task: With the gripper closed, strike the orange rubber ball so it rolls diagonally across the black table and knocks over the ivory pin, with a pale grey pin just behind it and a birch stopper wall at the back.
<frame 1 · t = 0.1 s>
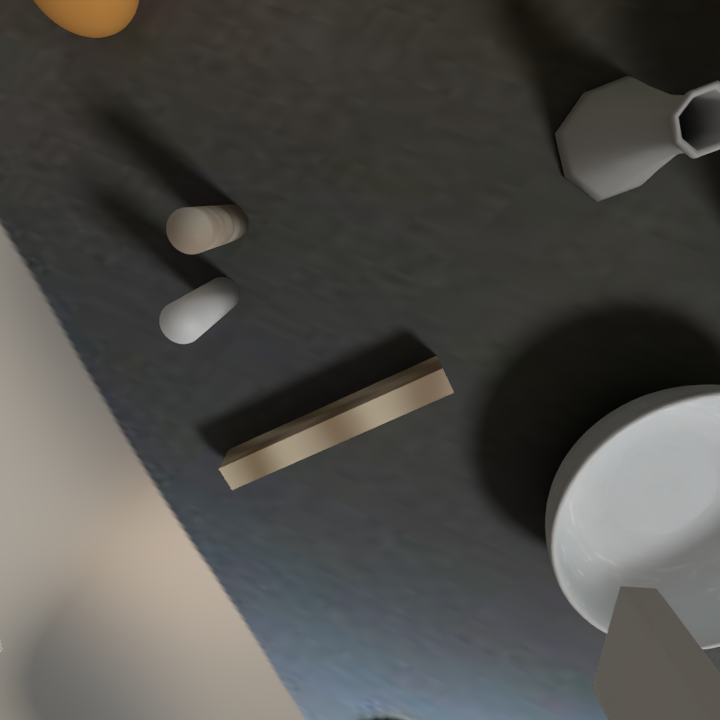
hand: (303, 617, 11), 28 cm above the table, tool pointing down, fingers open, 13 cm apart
flask: (608, 141, 34), on the table
back wall: (335, 414, 40), on the table
pin 1: (231, 222, 35), on the table
serving bowl: (650, 480, 42), on the table
pin 2: (223, 293, 37), on the table
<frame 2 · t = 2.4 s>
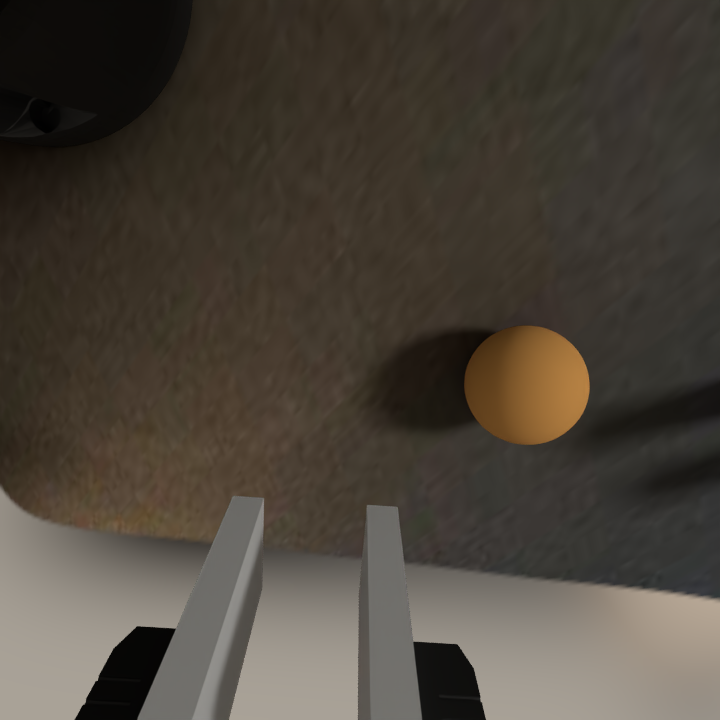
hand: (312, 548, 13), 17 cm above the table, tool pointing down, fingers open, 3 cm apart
ball: (524, 384, 26), on the table
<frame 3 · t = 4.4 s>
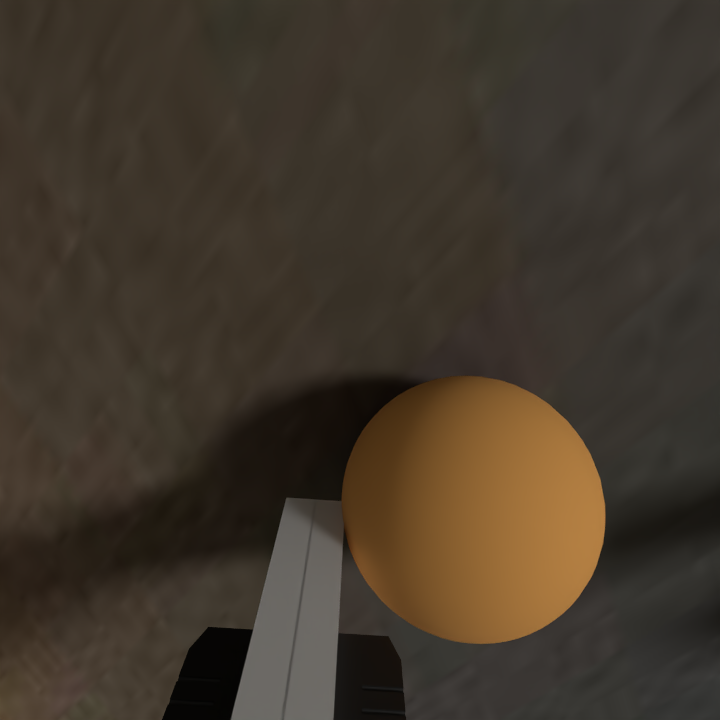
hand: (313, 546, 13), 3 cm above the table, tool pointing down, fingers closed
ball: (466, 500, 12), on the table, touching gripper
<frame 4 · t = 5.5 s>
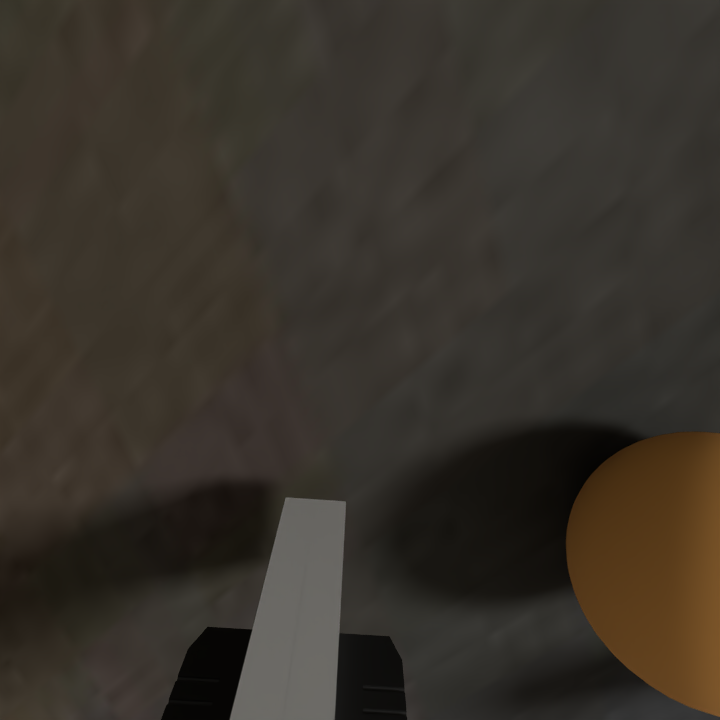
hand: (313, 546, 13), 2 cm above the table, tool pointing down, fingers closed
ball: (706, 563, 12), on the table
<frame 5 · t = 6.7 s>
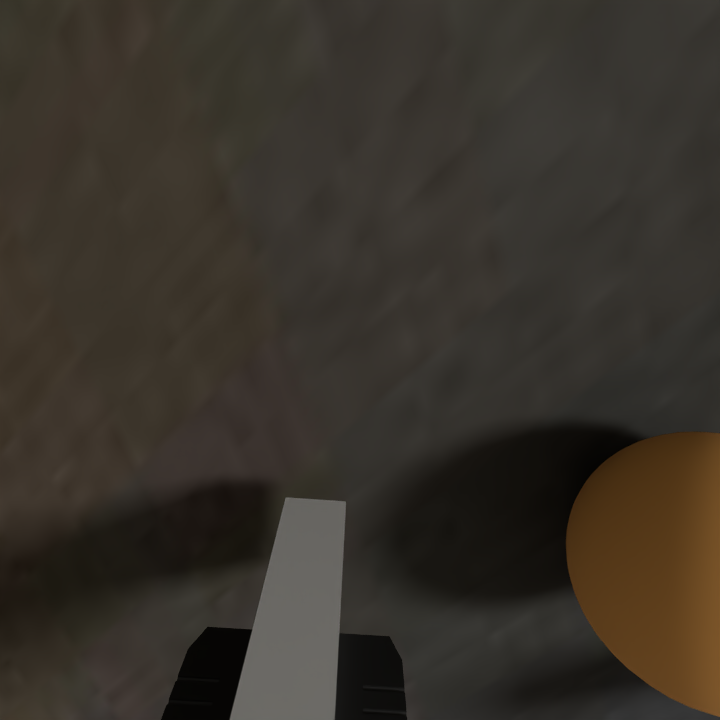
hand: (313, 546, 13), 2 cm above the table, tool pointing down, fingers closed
ball: (706, 563, 12), on the table
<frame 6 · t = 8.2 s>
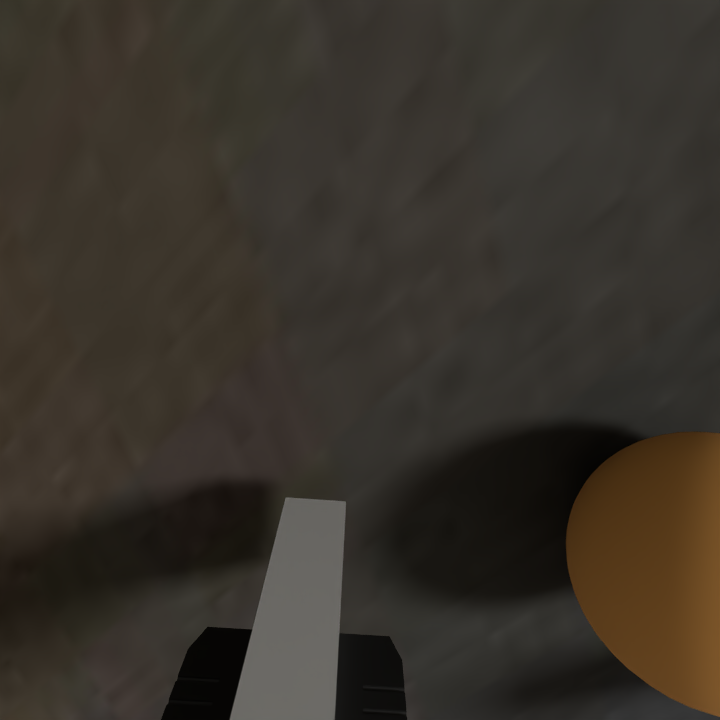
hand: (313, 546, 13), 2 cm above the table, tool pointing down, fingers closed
ball: (706, 563, 12), on the table
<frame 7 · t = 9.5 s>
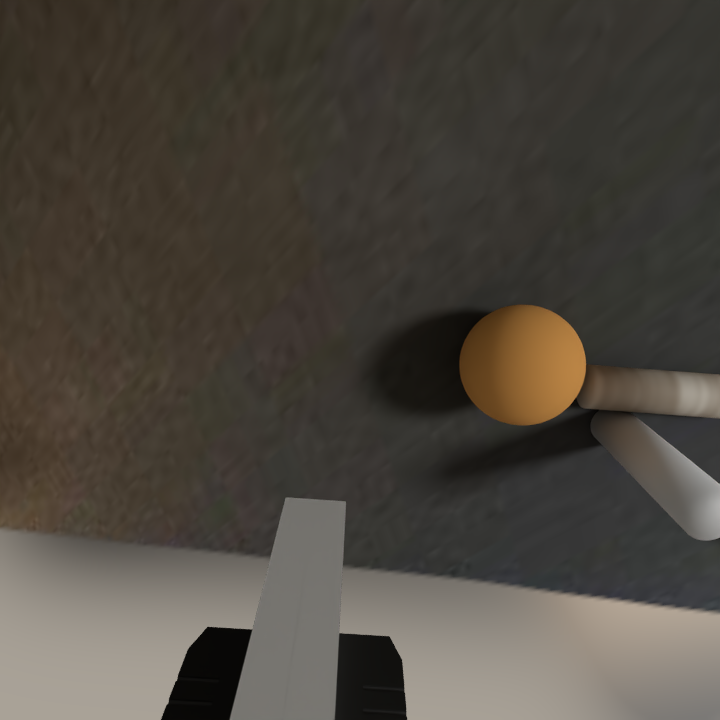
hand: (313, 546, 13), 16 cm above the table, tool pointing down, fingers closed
pin 1: (585, 386, 28), point 1 cm above the table, tilted 90°
ball: (520, 364, 26), on the table
pin 2: (611, 424, 30), on the table
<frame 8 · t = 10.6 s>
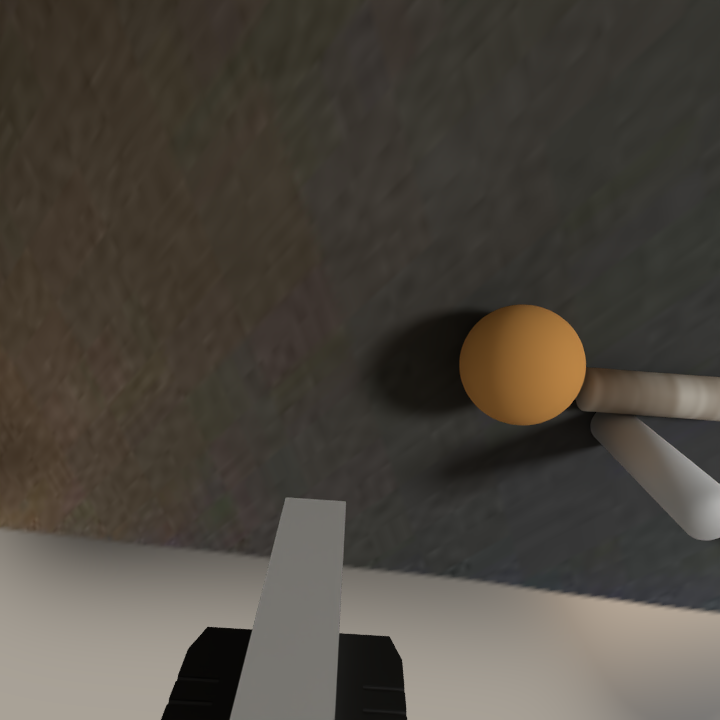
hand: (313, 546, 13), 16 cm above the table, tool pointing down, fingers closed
pin 1: (584, 389, 28), point 1 cm above the table, tilted 90°
ball: (520, 364, 26), on the table
pin 2: (611, 423, 30), on the table
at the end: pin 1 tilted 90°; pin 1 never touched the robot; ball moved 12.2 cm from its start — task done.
